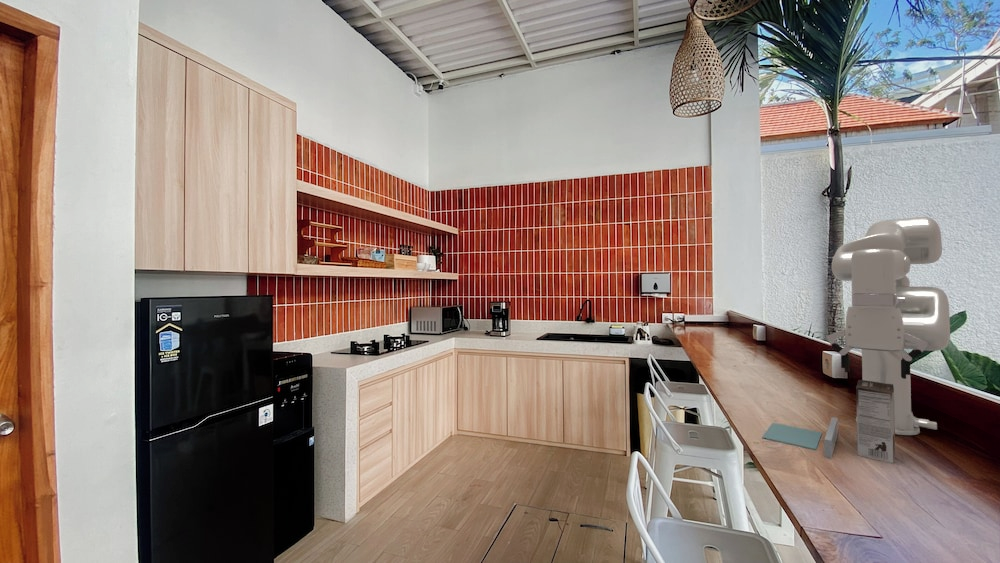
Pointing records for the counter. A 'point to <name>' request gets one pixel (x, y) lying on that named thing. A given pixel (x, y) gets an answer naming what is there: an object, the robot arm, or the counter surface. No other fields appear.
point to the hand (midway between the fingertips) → (874, 374)
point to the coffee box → (875, 420)
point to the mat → (793, 436)
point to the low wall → (831, 437)
